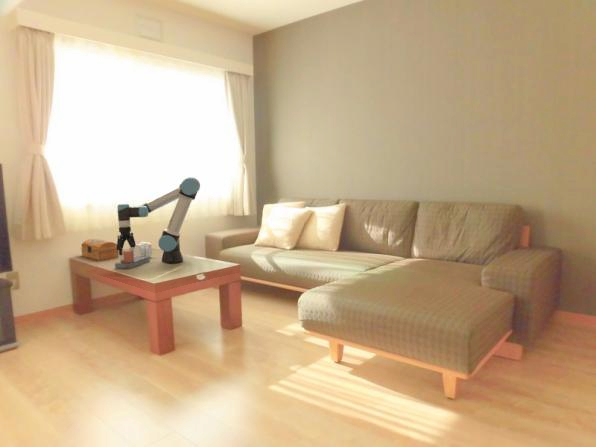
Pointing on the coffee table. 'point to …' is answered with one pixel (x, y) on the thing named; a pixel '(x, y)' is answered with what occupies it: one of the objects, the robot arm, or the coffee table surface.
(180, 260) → the robot arm
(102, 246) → the wooden box
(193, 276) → the coffee table surface
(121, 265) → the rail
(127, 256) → the clip
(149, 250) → the cable organizer
